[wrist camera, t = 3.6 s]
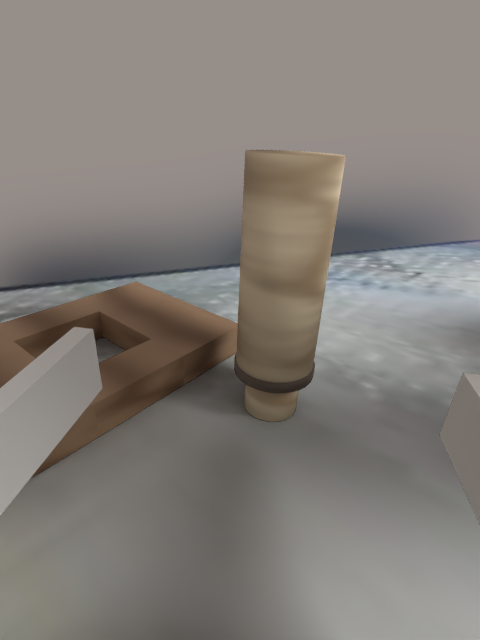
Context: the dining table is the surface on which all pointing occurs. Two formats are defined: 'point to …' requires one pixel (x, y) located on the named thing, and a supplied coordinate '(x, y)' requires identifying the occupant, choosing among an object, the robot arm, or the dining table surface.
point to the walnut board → (129, 366)
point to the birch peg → (283, 273)
